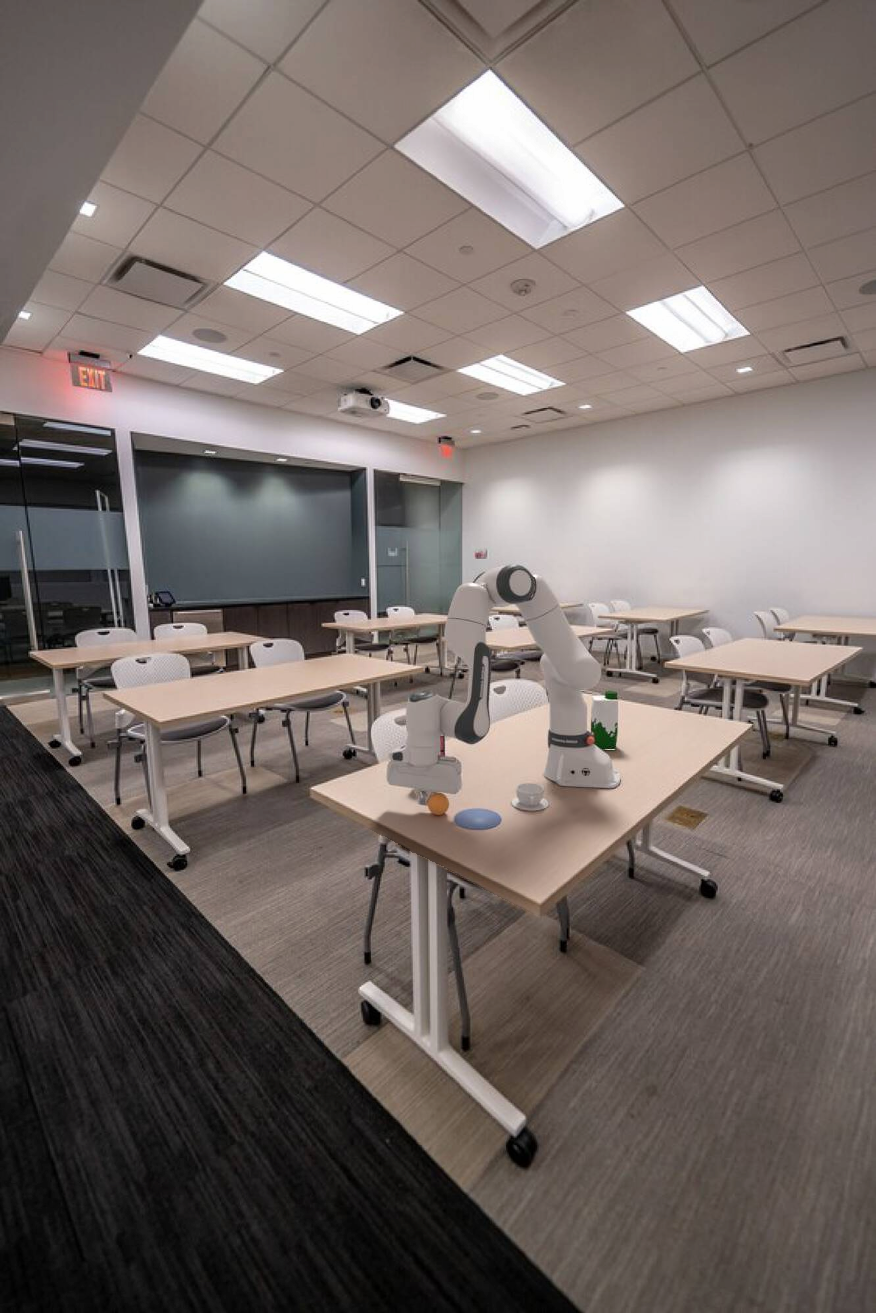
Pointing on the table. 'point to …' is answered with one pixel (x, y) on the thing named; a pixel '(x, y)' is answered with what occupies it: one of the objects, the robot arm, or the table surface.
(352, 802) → the table surface
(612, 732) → the milk carton
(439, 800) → the ball
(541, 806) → the teacup
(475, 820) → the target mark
